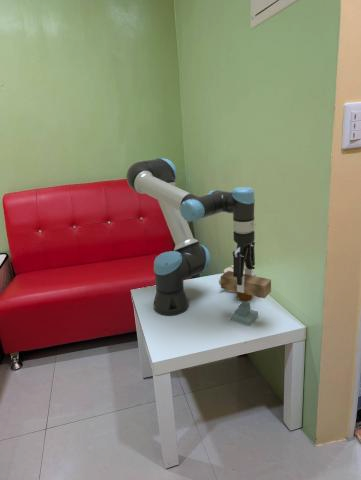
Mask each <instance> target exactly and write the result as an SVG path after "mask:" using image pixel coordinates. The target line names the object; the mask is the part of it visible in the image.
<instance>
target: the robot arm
mask: <svg viewBox="0 0 361 480" xmlns="http://www.w3.org/2000/svg"><path fill="white" fill-rule="evenodd" d="M177 173H178V172H177V168H176V166H175V164H174V163H173V162H172V161H171V160H170V159H167V158H162V157H161V158H159V157H158V158H155V159H148V160H141V161H136V162H134V163H133V164H132V165H130V166H129V168H128V169H127V172H126V182H127V184H128V186H129V187H130V188H131V189H132V190H133V191H135V192H136V193H139V194H142V195H143V194H146V195H148V196H149V197H151V198H154V200H157V202H158V204H159V208H160V209H161V212H162V214H163V217H164V219H165V222H166V225H167V227H168V229H169V231H170V235H171V237H172V240H173V242H174V244H175V246H174V249H173V251H172V250H169V251H165V252H162V253H160V254H159V255H157V256H155V259H154V260H153V261H154V262H153V271H154V280H155V291H156V292H155V295H154V300H153V309H154V311H155V312H156V313H157V314H159V315H163V316H176V315H180V314H183V313H184V312H186V311H187V310H188V309H189V307H190V300H189V297H188V296H187V292H186V291H185V289H184V281H185V280H187V279H189V278H191V277H194V276H197V275H198V274H201V273H202V272H204V271H206V270H207V269H208V268H209V266H210V263H211V254H210V252H209V250H208V248H207V247H206V246H205V245H203V244H200V242H199V240H198V239H196V238H194V236H193V233H192V230H191V229H190V225H189V223H188V222H191V223H192V222H195V221H196V222H197V221H199V220H201V219H205V218H207V217H210V216H214V215H217V214H220V213H228V214H232V219H233V222H232V228H233V231H232V232H233V241H234V243H236V244H237V245H236V251H234V250H233V251H232V256H233V257H232V258H233V264H232V265H233V276H234V277H237V292H241V293H244V276H243V272H244V269H245V274H247V275H251V276H252V270H255V268H256V267H255V265H256V261H255V260H256V258H255V255H256V254H255V253H256V252H255V244H256V242H255V239H256V237H255V226H256V223H255V191H254V189H253V188H252V187H249V186H239V187H235V188H233V189H232V191H224V190H219V189H217V190H210V191H208V193H207V194H206V195H202V196H197V195H195V194H193V193H191V192H189V191H187V190H184V189H181V188H179V187H177V186H176V180H177Z"/></svg>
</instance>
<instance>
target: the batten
mask: <svg viewBox="0 0 361 480" xmlns="http://www.w3.org/2000/svg"><path fill="white" fill-rule="evenodd" d="M243 276H244V294H248V295H252V297H256V298H261V299H265V298H266V297H267V296H268V295H269V294H270V293H271V292H272V279H270V278H265V277H261V276H257V275H256V276H251V275H247V274H243ZM220 278H221V285H220V288H221V289H223V290H225V289H227V290H231V291H235V292H237V277H234V276H233V272H232V271H227V272H226V273H223V274H222V275H221V276H220ZM239 293H241V292H239Z"/></svg>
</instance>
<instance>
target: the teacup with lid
mask: <svg viewBox="0 0 361 480" xmlns="http://www.w3.org/2000/svg"><path fill="white" fill-rule="evenodd" d="M227 271H232V272H233V264H232V265H230V266H229V267H226V268H224V270H223V274H224V273H226V272H227ZM218 284H219V286H221V277H220V278H219V280H218ZM224 291H226V292H228V293H233V294H234V293H236V294H237V292H235V291H231V290H227V289H224Z"/></svg>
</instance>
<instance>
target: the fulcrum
mask: <svg viewBox="0 0 361 480" xmlns="http://www.w3.org/2000/svg"><path fill="white" fill-rule="evenodd" d="M258 317H259V311H257V310H254V309H251V303H250V302H249V301H242V302H241V303H239V305H238V308H237V309H236V310H235V311H234V312H233V313H231V314H230V321H233V322H237V323H239V324H242V325H247V326H248V327H249V326H250V325H252V323H253V322H255V320H256V319H257V318H258Z"/></svg>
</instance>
